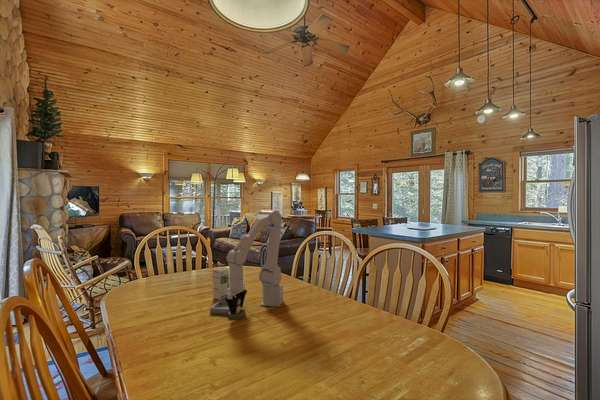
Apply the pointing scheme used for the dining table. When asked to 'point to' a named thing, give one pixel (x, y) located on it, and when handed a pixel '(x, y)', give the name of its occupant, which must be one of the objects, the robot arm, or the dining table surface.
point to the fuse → (238, 307)
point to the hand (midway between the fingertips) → (236, 310)
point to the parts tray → (220, 308)
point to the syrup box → (220, 282)
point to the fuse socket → (237, 314)
